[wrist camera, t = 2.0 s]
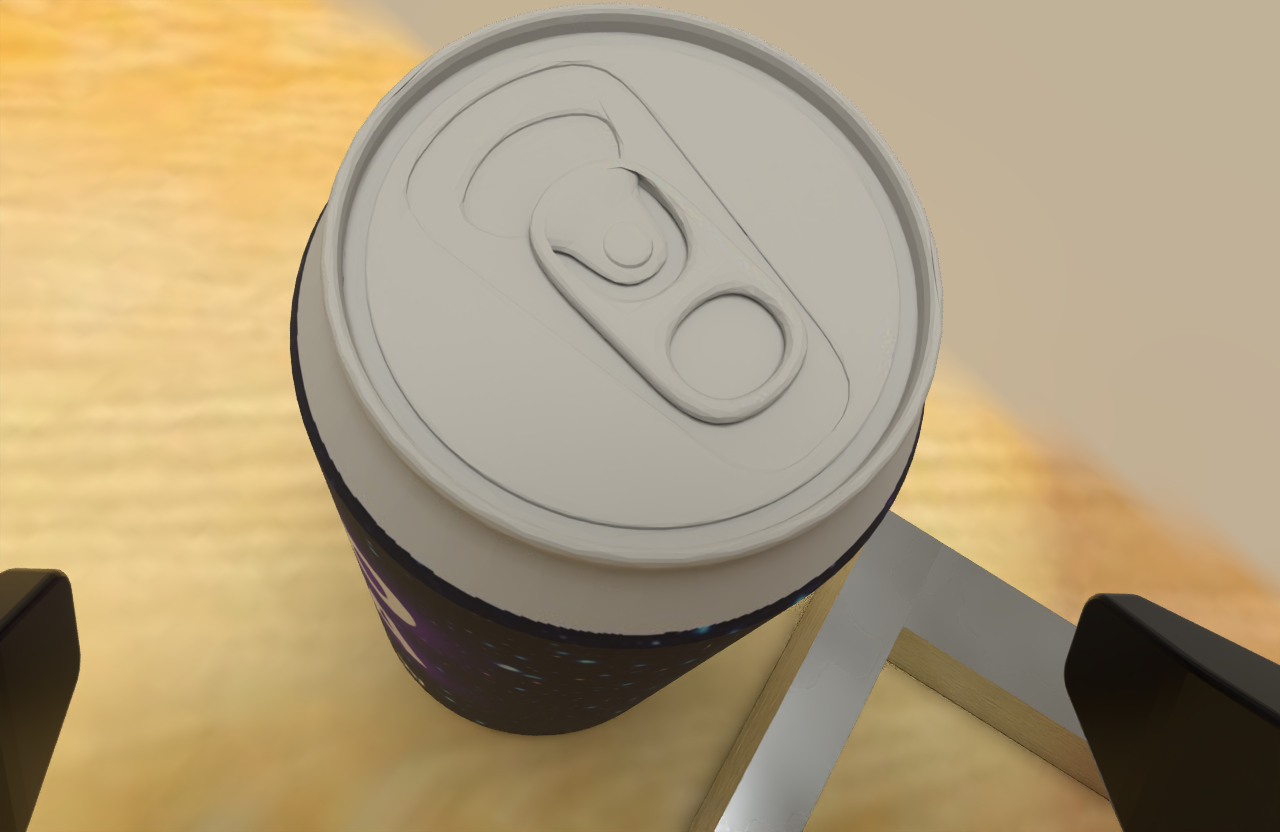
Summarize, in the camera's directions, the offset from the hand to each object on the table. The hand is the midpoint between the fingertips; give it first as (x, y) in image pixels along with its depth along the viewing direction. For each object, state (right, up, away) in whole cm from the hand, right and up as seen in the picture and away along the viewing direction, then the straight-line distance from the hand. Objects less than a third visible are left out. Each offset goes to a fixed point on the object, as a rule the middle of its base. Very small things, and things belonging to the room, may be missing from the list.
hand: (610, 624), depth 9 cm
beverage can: (-2, -1, +10) cm, 10 cm away
